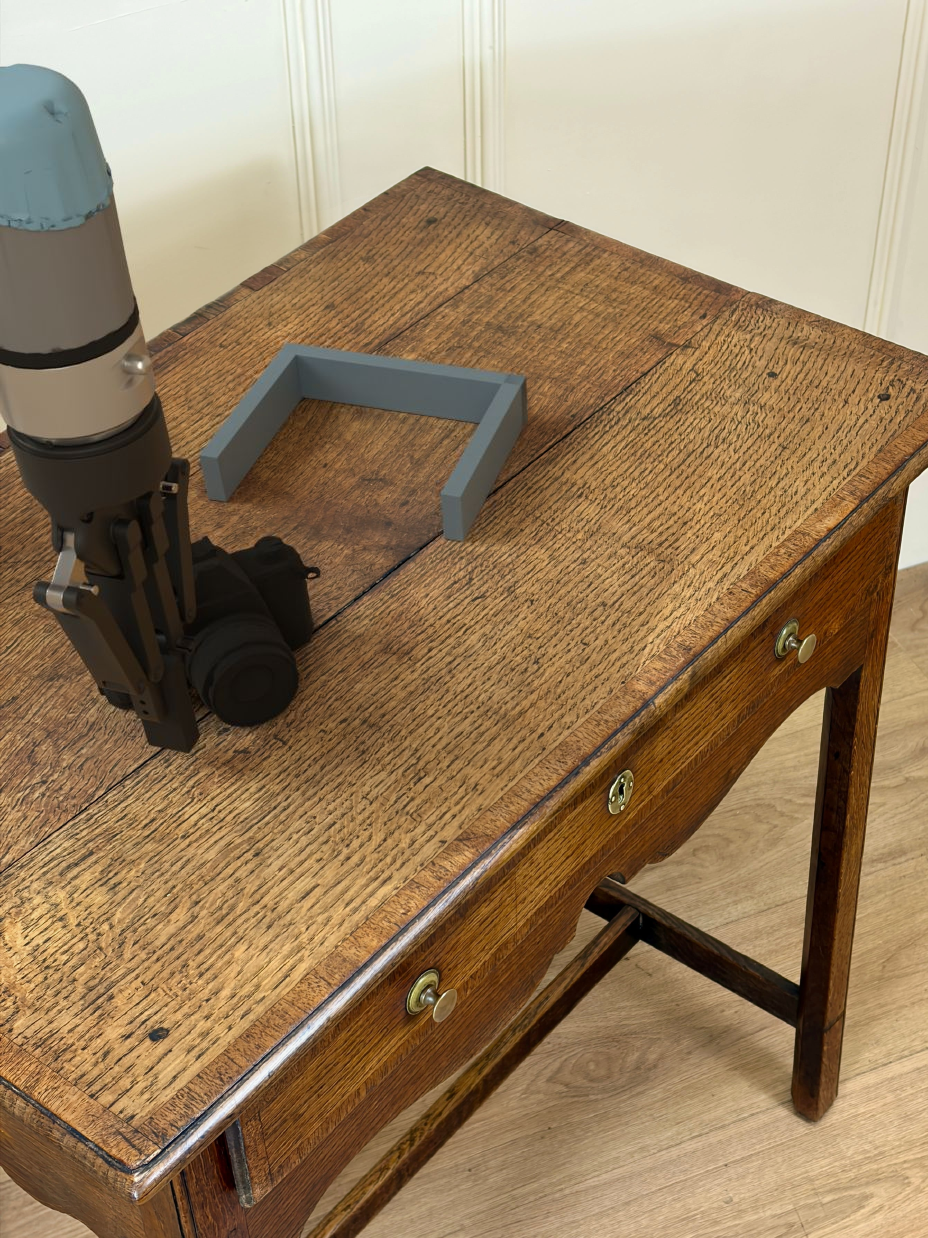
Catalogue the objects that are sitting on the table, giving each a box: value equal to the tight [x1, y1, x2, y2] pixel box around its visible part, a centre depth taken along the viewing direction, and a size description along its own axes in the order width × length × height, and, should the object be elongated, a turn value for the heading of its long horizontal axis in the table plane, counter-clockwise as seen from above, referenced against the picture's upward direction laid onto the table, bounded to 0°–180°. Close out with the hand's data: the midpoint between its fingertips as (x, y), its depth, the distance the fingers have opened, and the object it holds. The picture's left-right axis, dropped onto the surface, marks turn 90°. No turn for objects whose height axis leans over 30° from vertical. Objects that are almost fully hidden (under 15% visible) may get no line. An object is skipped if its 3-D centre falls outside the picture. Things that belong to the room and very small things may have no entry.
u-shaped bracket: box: [198, 342, 528, 543], centre depth 110 cm, size 20×16×4 cm
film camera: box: [96, 535, 322, 728], centre depth 91 cm, size 15×10×9 cm, turn 118°
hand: (174, 740), depth 88 cm, fingers closed
